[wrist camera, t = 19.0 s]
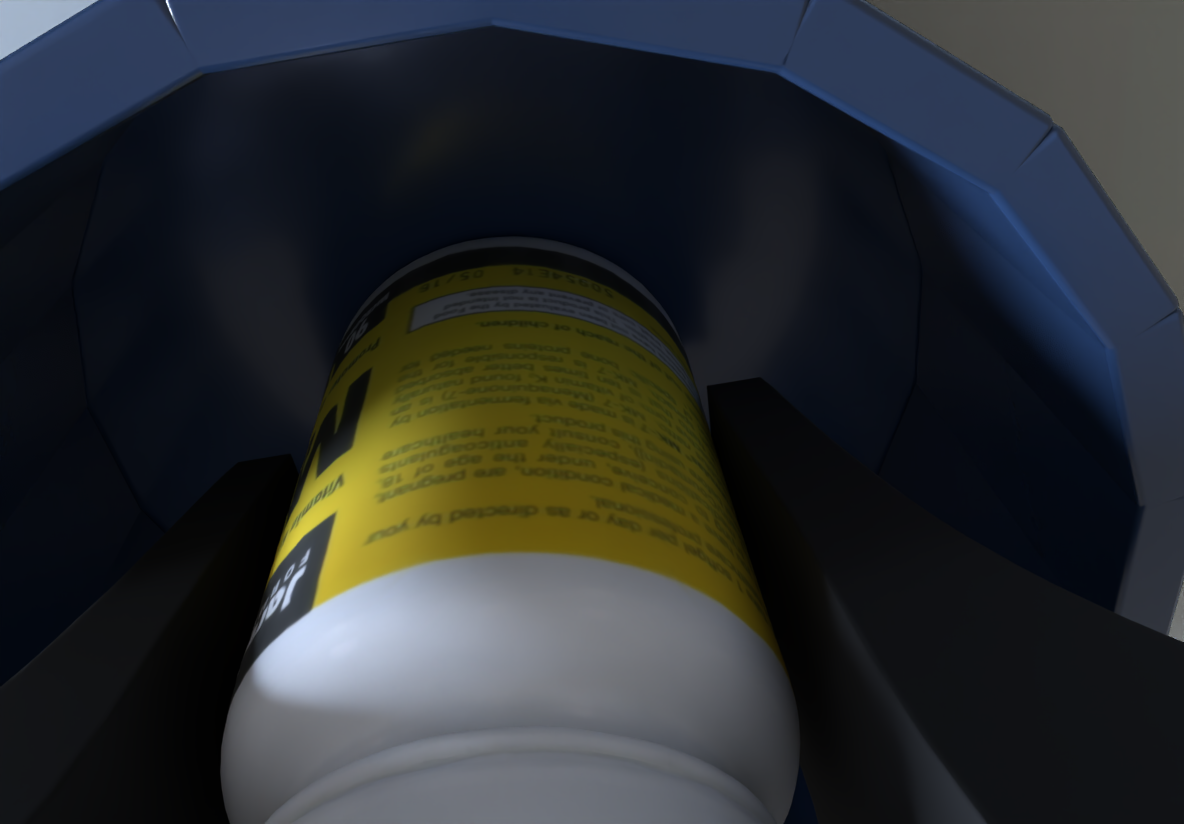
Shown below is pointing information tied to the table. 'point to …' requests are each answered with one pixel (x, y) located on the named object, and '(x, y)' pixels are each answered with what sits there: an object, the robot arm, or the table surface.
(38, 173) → the tin
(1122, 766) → the robot arm
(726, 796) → the supplement bottle
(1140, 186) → the table surface
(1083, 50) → the table surface
